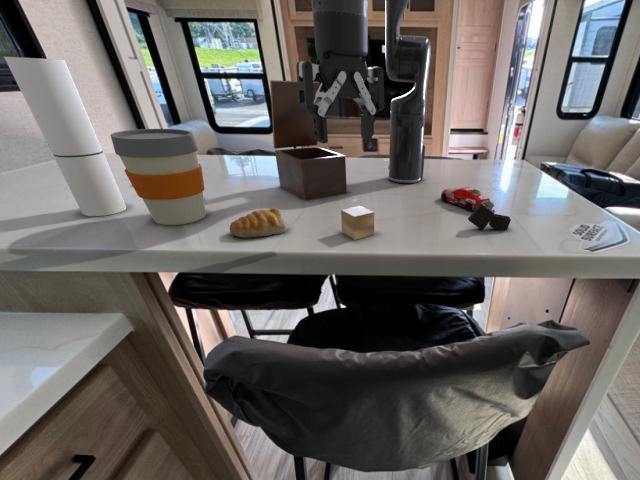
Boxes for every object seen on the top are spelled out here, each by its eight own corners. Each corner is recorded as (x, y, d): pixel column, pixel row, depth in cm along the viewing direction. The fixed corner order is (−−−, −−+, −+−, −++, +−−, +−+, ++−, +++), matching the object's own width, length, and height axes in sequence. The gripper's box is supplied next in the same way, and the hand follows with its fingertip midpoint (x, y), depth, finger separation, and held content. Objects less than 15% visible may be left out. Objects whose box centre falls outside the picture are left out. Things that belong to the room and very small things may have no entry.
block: (360, 227, 66) (360, 205, 64) (374, 234, 64) (374, 212, 61) (342, 232, 64) (340, 209, 61) (355, 240, 61) (354, 216, 59)
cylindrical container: (122, 202, 72) (61, 59, 58) (130, 211, 68) (67, 60, 54) (79, 208, 68) (3, 56, 54) (85, 218, 64) (4, 56, 50)
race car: (436, 199, 84) (437, 183, 82) (450, 196, 87) (452, 180, 85) (476, 214, 75) (479, 196, 73) (491, 210, 78) (495, 193, 76)
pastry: (237, 243, 58) (232, 222, 55) (226, 231, 62) (221, 211, 60) (289, 232, 63) (286, 212, 61) (275, 221, 67) (272, 202, 65)
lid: (319, 82, 78) (309, 75, 80) (271, 81, 71) (261, 73, 74) (317, 145, 88) (307, 136, 90) (275, 148, 81) (265, 139, 84)
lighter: (493, 237, 71) (511, 217, 69) (497, 241, 69) (515, 221, 67) (466, 217, 68) (483, 196, 66) (469, 221, 66) (487, 199, 64)
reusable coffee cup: (149, 209, 69) (118, 128, 61) (216, 204, 74) (196, 128, 65) (137, 232, 60) (98, 140, 51) (215, 224, 64) (191, 138, 56)
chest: (347, 192, 85) (345, 155, 80) (305, 200, 78) (300, 160, 74) (319, 180, 93) (316, 146, 88) (280, 186, 87) (274, 150, 82)
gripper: (306, 1, 40) (318, 148, 49) (396, 18, 48) (393, 141, 57) (279, 7, 45) (295, 140, 54) (366, 21, 53) (367, 135, 62)
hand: (345, 141), depth 55 cm, fingers open, 8 cm apart
